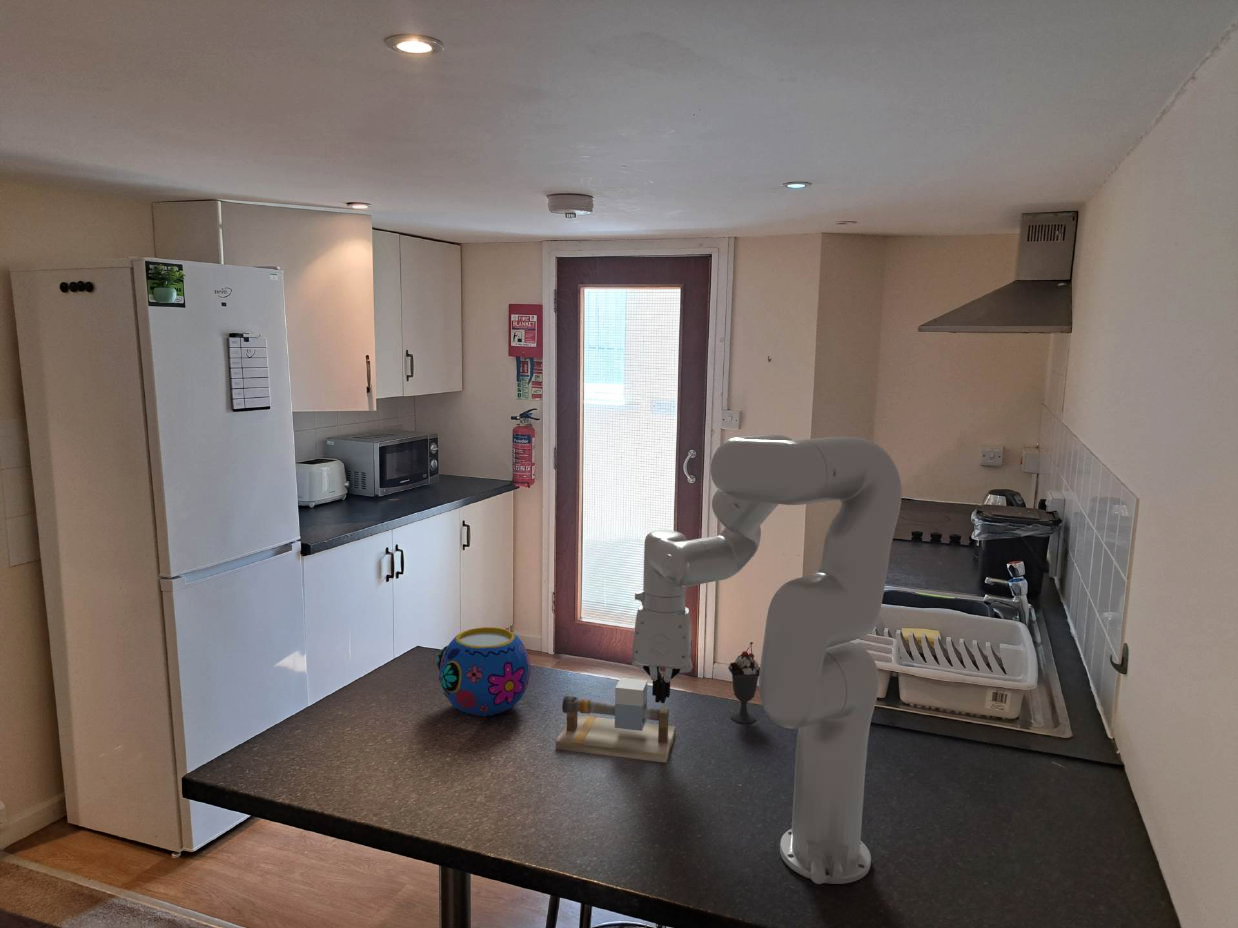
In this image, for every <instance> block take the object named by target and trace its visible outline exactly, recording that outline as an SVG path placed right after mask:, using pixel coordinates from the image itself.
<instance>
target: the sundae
mask: <svg viewBox="0 0 1238 928" xmlns="http://www.w3.org/2000/svg"><path fill="white" fill-rule="evenodd" d="M753 644H754V641H751V642H749V647H748V648H747V649H746V650H743V651H742V652H741V654H740V655H738V656H737V657H736V658H735V661H734V662H730V663H729V666H727V668H728V671H729V672H730V674H731V677H732V689H733V693H734V696H735V698H736V699H737V700H739V702H740V709H739V711H735V712H733V713H732V714H731V715H730V719H731V720H732V721H733V722H735V723H738V724H741V725H742V724H743V725H744V724H745V725H747V724H753V723H755V721H756V720H757V717H756V715H754V714H753V713H751V712H748V710H747V709H748V708H747V706H748V705H747V704H748V702H750V701H752V700H753V698H754V697H755V695H756V691H757V688H758V687H757V685H758V682H759V673H760V666H759V663H758V661H756V659H755V655H754V653H753V647H752V645H753ZM749 649H750V651H751V653H749V652H748V651H749Z"/></svg>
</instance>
